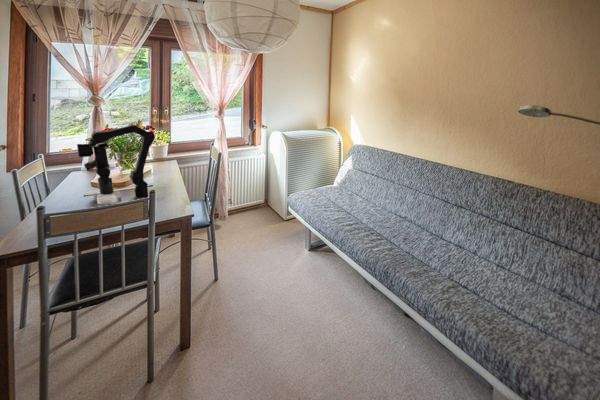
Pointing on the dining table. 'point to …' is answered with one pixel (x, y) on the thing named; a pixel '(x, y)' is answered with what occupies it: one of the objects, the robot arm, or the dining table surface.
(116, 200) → the track
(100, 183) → the supplement bottle
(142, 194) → the robot arm
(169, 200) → the dining table surface
